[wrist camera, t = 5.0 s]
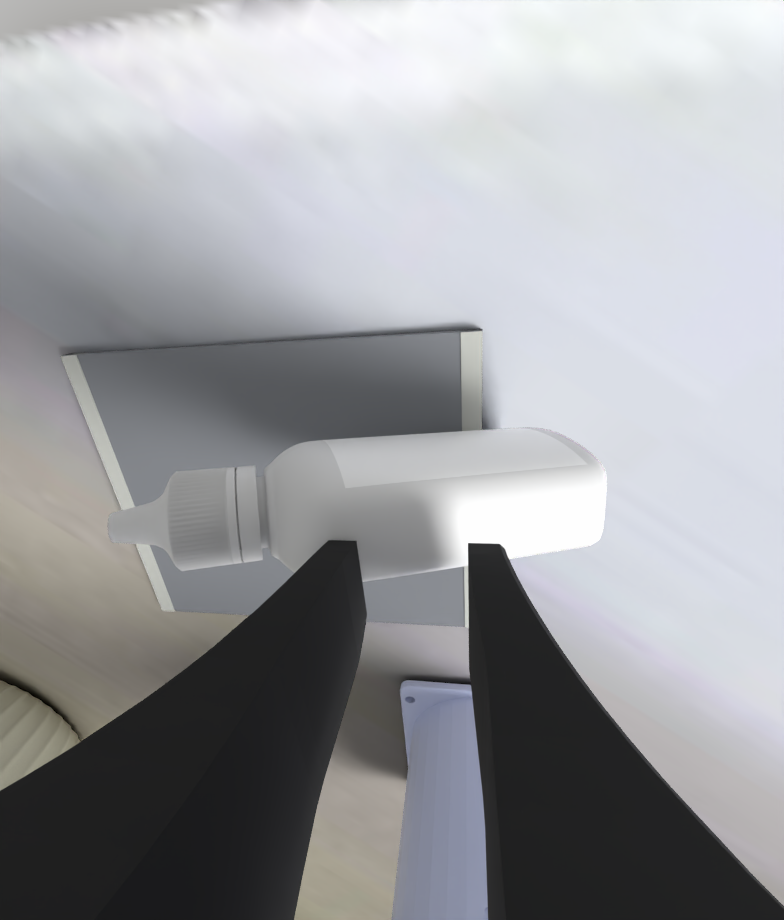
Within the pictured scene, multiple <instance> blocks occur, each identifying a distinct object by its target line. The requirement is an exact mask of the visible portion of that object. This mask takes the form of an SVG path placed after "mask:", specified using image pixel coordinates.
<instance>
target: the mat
mask: <svg viewBox="0 0 784 920" xmlns="http://www.w3.org/2000/svg"><path fill="white" fill-rule="evenodd" d="M482 334H483V331H482V329H473V330H457V331H440V332H423V333H406V334H390V335H373V336H356V337H340V338H323V339H306V340H290V341H273V342H256V343H240V344H223V345H206V346H190V347H173V348H156V349H140V350H123V351H106V352H90V353H73V354H66V355H62V356H60V357H61V360H62V362H63V365H64V367H65V370H66V372H67V375H68V377H69V379H70V382H71V384H72V387H73V389H74V392H75V394H76V397H77V399H78V402H79V404H80V407H81V409H82V412H83V414H84V417H85V419H86V422H87V424H88V427H89V429H90V432H91V434H92V437H93V439H94V442H95V444H96V447H97V449H98V452H99V454H100V457H101V459H102V462H103V464H104V467H105V469H106V472H107V474H108V477H109V479H110V482H111V484H112V487H113V489H114V492H115V494H116V497H117V499H118V502H119V504H120V507H121V509H122V510H125V509H129V508H133V507H137V506H141V505H144V504H148V503H151V502H153V501H155V500H156V499H158V498H159V497H160V496H161V495H162V494H163V493H164V491H165V488H166V486H167V484H168V482H169V479H170V477H171V476H172V475H173V474H174V473H175V472H177V471H189V470H202V469H216V468H228V467H236V468H237V467H242V466H256V476H257V477H261V476H264V469H265V468H266V467H267V466H268V465H269V464H270V463H271V462H272V461H273V460H274V459H275V458H276V457H277V456H278V455H280V454H281V453H282V452H283V451H285V450H286V449H288V448H290V447H292V446H294V445H296V444H299V443H303V442H308V441H318V440H331V439H346V438H361V437H377V436H393V435H409V434H425V433H441V432H457V431H473V430H482ZM136 547H137V549H138V552H139V554H140V557H141V559H142V562H143V564H144V567H145V569H146V572H147V574H148V577H149V579H150V582H151V584H152V587H153V589H154V592H155V594H156V597H157V599H158V602H159V604H160V607H161V609H162V611H173V612H175V611H184V612H202V613H220V614H238V615H251V614H252V613H253V612H254V611H255V610H256V609H257V608H259V607H260V606H261V605H262V604H263V603H264V602H265V601H266V600H267V599H268V598H269V597H270V596H271V595H272V594H273V593H274V592H275V591H277V590H278V589H279V588H280V587H281V586H282V585H283V584H284V583H285V582H286V581H287V580H288V579H289V578H290V577H291V576H292V575H293V574H294V572H293V571H291V570H290V569H289V568H288V567H287V566H285V565H284V564H283V563H282V562H281V561H280V560H279V559H277V558H275V557H274V556H272V555H271V552H270V548H262V555H263V560H260V561H253V562H246V563H244V561H243V563H238V564H231V565H223V566H216V567H209V568H201V569H194V570H187V571H181V570H180V569H178V568H177V567H176V566H175V564H174V563H173V561H172V559H171V558H170V556H169V555H168V553H167V552H166V551H165V550H164V549H163V548H161V547H158V546H156V545H148V544H136ZM363 589H364V596H365V603H366V610H367V619H366V622H382V623H400V624H418V625H437V626H455V627H465V628H469V600H468V566H463V567H457V568H451V569H444V570H438V571H432V572H425V573H419V574H412V575H406V576H400V577H393V578H386V579H379V580H372V581H365V582H363Z"/></svg>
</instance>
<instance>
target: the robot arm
mask: <svg viewBox="0 0 784 920" xmlns="http://www.w3.org/2000/svg"><path fill="white" fill-rule="evenodd" d="M468 600H469V670H470V680H471V685H465V684H452V683H440V682H427V681H414V680H406V681H404V682H402V683H401V688H400V697H401V706H402V715H403V725H404V734H405V743H406V752H407V761H408V775H407V784H406V793H405V802H404V811H403V820H402V829H401V838H400V847H399V856H398V865H397V874H396V883H395V892H394V901H393V910H392V919H391V920H784V906H783V905H782V904H781V903H780V902H779V901H778V900H777V899H776V898H775V897H774V896H773V895H772V894H771V893H770V892H769V891H768V890H767V889H766V888H765V887H764V886H763V885H762V884H761V883H760V882H759V881H758V880H757V879H756V878H755V877H754V876H753V875H752V874H751V873H750V872H749V871H748V870H747V868H746V867H745V866H744V865H743V864H742V863H741V862H740V861H739V860H738V859H737V858H736V857H735V856H734V854H733V853H732V852H731V851H730V850H729V849H728V848H727V847H726V846H725V845H724V844H723V843H722V842H721V840H720V839H719V838H718V837H717V836H716V835H715V834H714V833H713V832H712V831H711V830H710V829H709V828H708V827H707V825H706V824H705V823H704V822H703V821H702V820H701V819H700V818H699V817H698V816H697V815H696V814H695V813H694V811H693V810H692V809H691V808H690V807H689V806H688V805H687V804H686V803H685V802H684V801H683V800H682V799H681V797H680V796H679V795H678V794H677V793H676V792H675V791H674V790H673V789H672V788H671V787H670V786H669V785H668V783H667V782H666V781H665V780H664V779H663V778H662V777H661V775H660V774H659V773H658V772H657V771H656V770H655V768H654V767H653V766H652V765H651V764H650V763H649V761H648V760H647V759H646V758H645V757H644V756H643V754H642V753H641V752H640V751H639V750H638V749H637V747H636V746H635V745H634V744H633V743H632V742H631V740H630V739H629V738H628V737H627V736H626V734H625V733H624V732H623V731H622V729H621V728H620V727H619V726H618V724H617V723H616V722H615V721H614V719H613V718H612V717H611V716H610V715H609V713H608V712H607V711H606V710H605V708H604V707H603V706H602V704H601V703H600V702H599V701H598V699H597V698H596V697H595V695H594V694H593V693H592V691H591V690H590V689H589V687H588V686H587V685H586V683H585V682H584V681H583V679H582V678H581V677H580V675H579V674H578V672H577V671H576V670H575V668H574V667H573V665H572V664H571V663H570V661H569V660H568V658H567V657H566V656H565V654H564V653H563V651H562V650H561V648H560V647H559V645H558V644H557V642H556V641H555V639H554V638H553V636H552V635H551V633H550V632H549V630H548V628H547V627H546V625H545V624H544V622H543V620H542V619H541V617H540V616H539V614H538V612H537V611H536V609H535V608H534V606H533V604H532V603H531V601H530V599H529V597H528V596H527V594H526V592H525V590H524V588H523V587H522V585H521V583H520V581H519V579H518V577H517V575H516V573H515V571H514V569H513V567H512V565H511V563H510V560H509V558H508V556H507V553H506V550H505V548H504V547H503V546H501V545H500V544H492V543H468ZM366 619H367V610H366V603H365V596H364V589H363V582H362V576H361V569H360V562H359V555H358V548H357V541H345V540H328V541H327V542H326V543H325V544H324V545H323V546H322V547H321V548H320V549H319V550H318V551H317V552H315V553H314V554H313V555H312V556H311V557H310V558H309V559H308V560H307V561H306V562H305V563H304V564H303V565H302V566H301V567H300V568H299V569H298V570H297V571H296V572H295V573H294V574H293V575H292V576H291V577H290V578H289V579H288V580H287V581H286V582H285V583H284V584H283V585H282V586H281V587H280V588H279V589H278V590H277V591H275V592H274V593H273V594H272V595H271V596H270V597H269V598H268V599H267V600H266V601H265V602H264V603H263V604H262V605H261V606H260V607H259V608H257V609H256V610H255V611H254V612H253V613H252V614H251V615H250V616H248V617H247V618H246V619H245V620H244V621H243V622H242V623H240V624H239V625H238V626H237V627H236V628H235V629H233V630H232V631H231V632H230V633H229V634H228V635H227V636H225V637H224V638H223V639H222V640H221V641H220V642H219V643H217V644H216V645H215V646H214V647H213V648H211V649H210V650H209V651H208V652H206V653H205V654H204V655H203V656H201V657H200V658H199V659H198V660H196V661H195V662H194V663H193V664H191V665H190V666H189V667H187V668H186V669H185V670H183V671H182V672H181V673H179V674H178V675H177V676H175V677H174V678H173V679H171V680H170V681H169V682H167V683H166V684H165V685H163V686H162V687H161V688H159V689H158V690H157V691H155V692H154V693H152V694H151V695H150V696H148V697H147V698H145V699H144V700H143V701H141V702H140V703H138V704H137V705H135V706H134V707H132V708H131V709H129V710H128V711H126V712H125V713H123V714H122V715H120V716H119V717H117V718H116V719H114V720H113V721H111V722H110V723H108V724H107V725H105V726H104V727H102V728H101V729H99V730H98V731H96V732H95V733H93V734H92V735H90V736H89V737H87V738H86V739H84V740H83V741H81V742H80V743H78V744H77V745H75V746H73V747H72V748H70V749H69V750H67V751H65V752H64V753H62V754H61V755H59V756H57V757H56V758H54V759H52V760H51V761H49V762H48V763H46V764H44V765H43V766H41V767H39V768H38V769H36V770H34V771H33V772H31V773H29V774H28V775H26V776H25V777H23V778H21V779H19V780H18V781H16V782H14V783H13V784H11V785H9V786H7V787H6V788H4V789H2V790H1V791H0V920H294V916H295V911H296V906H297V901H298V896H299V891H300V885H301V880H302V875H303V870H304V866H305V861H306V856H307V851H308V847H309V842H310V837H311V832H312V828H313V823H314V818H315V813H316V809H317V805H318V801H319V797H320V793H321V789H322V785H323V781H324V778H325V774H326V771H327V768H328V764H329V761H330V758H331V754H332V751H333V748H334V744H335V741H336V738H337V734H338V731H339V728H340V724H341V721H342V718H343V714H344V711H345V708H346V704H347V701H348V697H349V694H350V691H351V687H352V684H353V680H354V677H355V674H356V670H357V667H358V663H359V658H360V653H361V648H362V642H363V637H364V631H365V625H366Z"/></svg>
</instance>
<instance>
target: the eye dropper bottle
mask: <svg viewBox="0 0 784 920" xmlns="http://www.w3.org/2000/svg"><path fill="white" fill-rule="evenodd" d="M606 495H607V476H606V470H605V468H604V467H603V465H602V463H601V462H600V461H599V460H598V459H597V458H596V457H595V456H594V455H593V454H592V453H591V452H589V451H588V450H587V449H586V448H584V447H583V446H581V445H580V444H578V443H577V442H575V441H573V440H572V439H570V438H568V437H566V436H564V435H562V434H559V433H557V432H554V431H551V430H547V429H541V428H530V427H523V428H506V429H490V430H473V431H457V432H441V433H425V434H409V435H393V436H377V437H361V438H346V439H331V440H318V441H308V442H303V443H299V444H296V445H294V446H292V447H290V448H288V449H286V450H285V451H283V452H282V453H281V454H280V455H278V456H277V457H276V458H275V459H274V460H273V461H272V462H271V463H270V464H269V465H268V466H267V467H266V468H265V469H264V476H261V477H257V476H256V466H242V467H237V468H236V467H228V468H216V469H202V470H189V471H177V472H175V473H174V474H173V475H172V476H171V477H170V479H169V482H168V484H167V486H166V488H165V491H164V493H163V494H162V495H161V496H160V497H159V498H158V499H156V500H155V501H153V502H151V503H148V504H144V505H141V506H137V507H133V508H129V509H125V510H122V511H118V512H114V513H111V514H110V516H109V519H108V534H109V538H110V540H111V542H112V543H129V544H148V545H156V546H158V547H161V548H163V549H164V550H165V551H166V552H167V553H168V555H169V556H170V558H171V559H172V561H173V563H174V564H175V566H176V567H177V568H178V569H180V570H181V571H187V570H194V569H201V568H209V567H216V566H223V565H231V564H238V563H243V561H244V563H246V562H253V561H260V560H263V555H262V548H270V552H271V555H272V556H274V557H275V558H277V559H279V560H280V561H281V562H282V563H283V564H284V565H285V566H287V567H288V568H289V569H290V570H291V571H293V572H294V573H295V572H296V571H297V570H298V569H299V568H300V567H301V566H302V565H303V564H304V563H305V562H306V561H307V560H308V559H309V558H310V557H311V556H312V555H313V554H314V553H315V552H317V551H318V550H319V549H320V548H321V547H322V546H323V545H324V544H325V543H326V542H327V541H328V540H345V541H357V548H358V555H359V562H360V569H361V576H362V582H365V581H372V580H379V579H386V578H393V577H400V576H406V575H412V574H419V573H425V572H432V571H438V570H444V569H451V568H457V567H463V566H468V543H492V544H500V545H501V546H503V547H504V548H505V550H506V553H507V556H508V558H509V559H514V558H520V557H526V556H532V555H538V554H545V553H551V552H557V551H563V550H569V549H575V548H582V547H587V546H591V545H593V544H594V543H596V542H597V541H598V540H600V538H601V535H602V532H603V528H604V519H605V507H606Z"/></svg>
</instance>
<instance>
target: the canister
mask: <svg viewBox="0 0 784 920" xmlns="http://www.w3.org/2000/svg"><path fill="white" fill-rule="evenodd" d="M80 742H81V741H80V740H79V739H78V735H77V734H76V733H75V732H74V731H73V730H72V729H71V726H70V725H69V724H68V723H67V722H65V721H64V720H63V718H62V717H61V716H60V715H59V714H57V713H56V712H54V710H53V709H52V708H51V707H49V706H47V705H46V704H44V703H43V702H42V701H41V700H40V699H37V698H35V697H33V696H32V695H31V694H30V693H28V692H25V691H23V690H21V689H19V688H18V687H16V686H13V685H9V684H7V683H6V682H4V681H1V680H0V791H1V790H2V789H4V788H6V787H7V786H9V785H11V784H13V783H14V782H16V781H18V780H19V779H21V778H23V777H25V776H26V775H28V774H29V773H31V772H33V771H34V770H36V769H38V768H39V767H41V766H43V765H44V764H46V763H48V762H49V761H51V760H52V759H54V758H56V757H57V756H59V755H61V754H62V753H64V752H65V751H67V750H69V749H70V748H72V747H73V746H75V745H77V744H78V743H80Z"/></svg>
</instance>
